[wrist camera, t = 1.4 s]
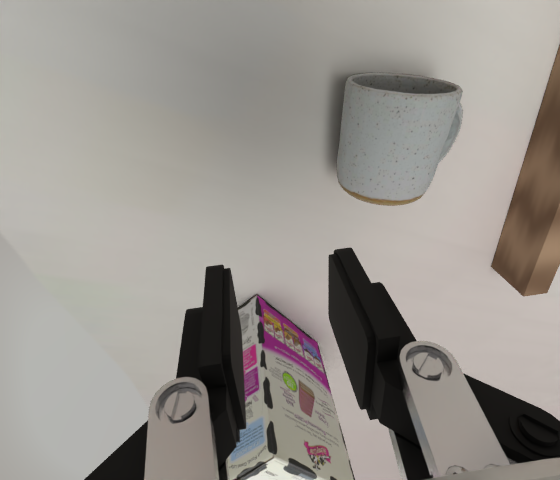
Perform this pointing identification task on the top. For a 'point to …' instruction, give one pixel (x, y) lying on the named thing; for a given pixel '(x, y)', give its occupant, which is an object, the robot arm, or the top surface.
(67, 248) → the top surface
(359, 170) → the ceramic mug
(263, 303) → the candy bar box
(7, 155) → the top surface
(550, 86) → the walnut board
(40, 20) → the top surface
